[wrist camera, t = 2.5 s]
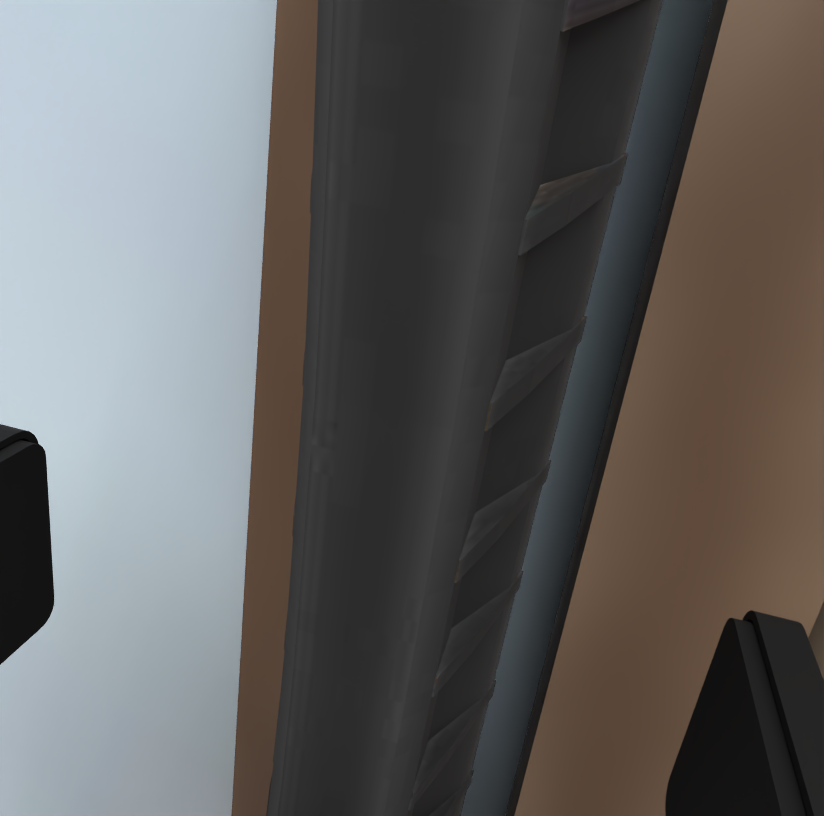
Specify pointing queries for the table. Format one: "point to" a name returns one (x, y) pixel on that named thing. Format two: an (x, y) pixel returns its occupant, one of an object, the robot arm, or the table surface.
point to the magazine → (436, 368)
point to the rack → (617, 424)
